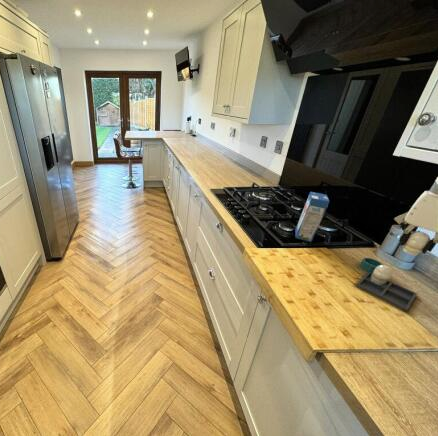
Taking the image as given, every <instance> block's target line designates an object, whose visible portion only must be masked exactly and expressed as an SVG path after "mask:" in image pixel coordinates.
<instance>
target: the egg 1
mask: <svg viewBox="0 0 438 436" xmlns="http://www.w3.org/2000/svg"><path fill="white" fill-rule="evenodd" d="M392 276H393V269H392V268H391V267H390V266H388V265H385V264H383V265H379V266H377V267H376V268H375V270H374V271H373V273H372V275H371V281H372V282H375V283H377V284H379V285H383V284H384V283H386V282H387V281H390V278H391V277H392Z"/></svg>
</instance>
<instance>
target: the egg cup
mask: <svg viewBox="0 0 438 436" xmlns="http://www.w3.org/2000/svg"><path fill="white" fill-rule="evenodd" d="M379 265H384V264H383V263H382V262H381V261H379V260H377V259H374V258H372V257H363V258H362V260H361V261H360V262H359V267H360V268H361V269H362V270H363V271H365V272H367V273H368V272H371V273H373V271H374V270H375V268H376V267H377V266H379Z"/></svg>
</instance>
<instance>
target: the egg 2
mask: <svg viewBox="0 0 438 436" xmlns="http://www.w3.org/2000/svg"><path fill="white" fill-rule="evenodd" d="M430 240H431V237H430V235H429V234H428V233H426V232H423V231H414V232H411V235H410V236H409V238H408V239H407V241H406V242H405V244H404V245H403V249H402V250H403V252H404V253H406V254H408V255H412V256H418V255H419V254H420V253H422V251H423V250H424V248H425V247H426V246H427V244H428V243H429V241H430Z"/></svg>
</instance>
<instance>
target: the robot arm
mask: <svg viewBox="0 0 438 436" xmlns="http://www.w3.org/2000/svg"><path fill="white" fill-rule="evenodd" d="M393 220H394V221H395V222H396V223H397V224H398V225H399V227H400V228H401V229H402V231H403V233H402V235H401V237H399V240H398V242H400V243H399V245H400V246H401V247H402V246H404V244H405V242H406V241H407V239H408V238H409V236H410V235H411V234H412V233H413V232H412V231H413V230H414V229H415V228H420V229H424V230H427V231H430V232H434V236H433V237H432V238H431V239H430V241H429V243H428V244H427V246H426V247H425V248H424V250H423V251H422V252H421V253H422V254H427V252H430V253H432V251H433V250H434V248H435V247H436V245H437V244H438V176H437V177H436V179H435V180H434V182H433V184H432V185H431V187H430V188H429V190H424V192H422V193H421V194H420V196H419V197H417V199H416V200H415V202H414V203H413V205H411V207H410V209H409V210H408V211H407V212H404V213H402V214H400V215H397V216H395V217H394V218H393Z"/></svg>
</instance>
